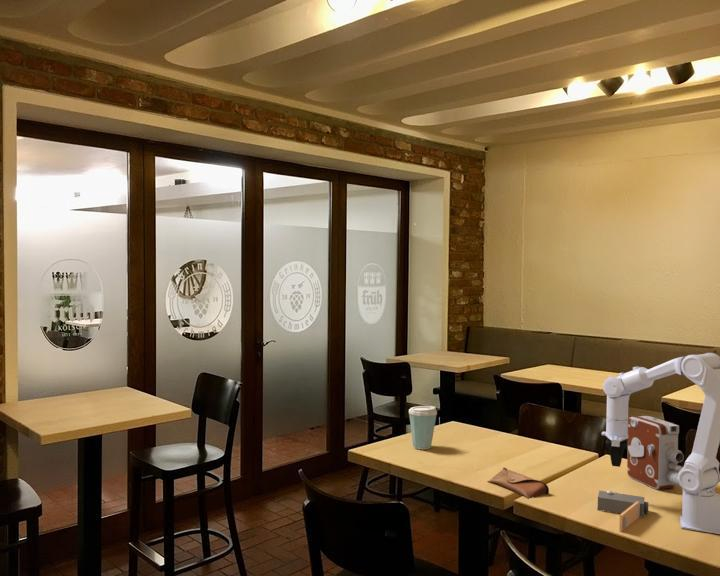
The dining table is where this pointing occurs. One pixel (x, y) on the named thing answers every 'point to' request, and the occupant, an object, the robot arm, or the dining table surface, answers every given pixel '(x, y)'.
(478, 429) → the dining table surface
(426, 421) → the disposable coffee cup
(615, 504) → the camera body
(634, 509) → the side door
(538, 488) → the sunglasses case
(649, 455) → the cine camera
